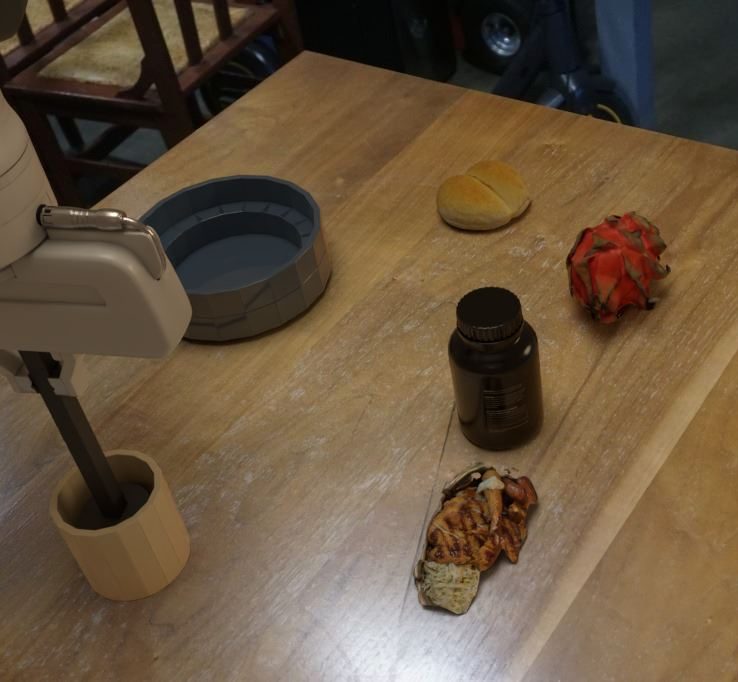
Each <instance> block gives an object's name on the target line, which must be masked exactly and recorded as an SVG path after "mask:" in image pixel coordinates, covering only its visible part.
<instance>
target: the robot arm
mask: <svg viewBox="0 0 738 682" xmlns="http://www.w3.org/2000/svg"><path fill="white" fill-rule="evenodd" d="M28 3H29V0H0V43H2V42H5V41H8V40H9V39H11V38H13V37H14V36H15V35H16V34H17V33H18V31H19V30H20V27H21V24H22V22H23V20H24V16H25V13H26V11H27V8H28V7H27V6H28ZM35 149H36V148H35V147H34V145H33V142H32V140H31V138H30V135H29V133H28V130H27V128H26V126H25V124H24V122H23V120H22V119H21V118H20V116H19V115H18V113H17V112H16V111H15V110H14V108H12V107H11V106H10V104H9V103H8V102H7V100H6V98H5V97H4V95H3V92H2V89H0V374H2V376H5V377H6V379H7V381H8V383H9V384H10V387H11V388H12V390H13V392H14V393H16V394H32V395H33V394H35V395H40V393H39V391H38V389H37V387H36V385H35V383H34V381H33V379H32V377H31V375H30V373H29V372H28V370H27V368H26V366H25V364H24V362H23V360H22V358H21V356H20V354H19V352H18V350H22V351H38V352H50V353H51V355H52V357H53V359H54V360H57V361H58V362H57V364H56V368H55V369H54V370H52V372H51V374H50V375H49V376H48V380H49V383H50V385H51V386H52V387H53V388H55V389H54V392H55V394H56V395H60V396H71V397H77V398H80V397H83V395H84V393H85V391H86V390H87V388H88V386H89V385H90V381H91V375H90V372H89V370H88V368H87V367H86V364H85V361H84V360H85V357H86V355H89V356H103V357H118V358H119V357H120V358H121V357H122V358H135V359H137V358H138V359H149V360H150V359H152V360H161V359H162V360H164V359H166V358H168V357H169V356H170V355H171V353H173V351H174V350H175V349H176V347H177V346H178V345H179V344H180V342H181V341H182V339H183V335H184V333H185V331H186V329H187V327H188V325H189V322H190V320H191V316H192V308H191V304H190V302H189V299H188V297H187V294H186V292H185V290H184V288H183V286H182V284H181V282H180V280H179V278H178V276H177V274H176V272H175V270H174V268H173V266H172V264H171V263H170V261H169V259H168V258H167V256H166V254H165V253H164V250H163V247H162V245H161V242H160V239H159V237H158V235H157V233H156V232H155V230H154V229H153V228H151V227H150V226H146V225H144V224H143V223H141V222H139V221H138V220H139V219H135V218H134V217H133V218H132V217H128V215H127V213H126V212H125V210H121V209H117V208H111V207H110V208H109V207H103V208H98V209H91V208H90V209H88V208H81V207H74V206H63V205H62V206H59V204H58V201H57V198H56V195H55V194H54V193H55V192H54V191H53V189H52V187H51V184H50V182H49V179H48V177H47V174H46V172H45V170H44V168H43V165H42V163H41V161H40V158H39V156H38V154H37V151H36V150H35Z"/></svg>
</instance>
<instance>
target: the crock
mask: <svg viewBox="0 0 738 682" xmlns="http://www.w3.org/2000/svg"><path fill="white" fill-rule="evenodd" d="M103 453H104V455H105V457H106V459H107V461H108V463H109V465H110V467H111V469H112V471H113V473H114V475H115V478H116V480H117V482H118V484H120V483H132V484H136V485H139V486H141V487H143V488H144V489H145V490H147V492H148V493H149V495H150V497H149V499H148V501H147V503H146V504H145V505H144V506H143V507H142V508H141V509H140V510H139V511H138V512H137V513H136V514H135V515H134V516H132V517H130V518H128V519H127V520H125V521H123V522H121V523H119V524H117V525H116V526H112V527H108V528H103V529H99V530H84V529H83V528H82V526H81V521H80V518H81V513H82V510H83V508H84V506H85V504H86V503H87V502H88V500H89V499H90V498H91V497H92V494H91V492H90V490H89V488H88V486H87V484H86V482H85V480H84V478H83V476H82V474H81V472H80V470H79V468H78V467H77V465H76V464H74V465H73V466H72V467H71V468H70V469H69V470H68V471H67V472H65V473H64V475H62V476H61V477H60V479H58V482H57V483H56V485H55V487H54V489H53V491H52V492H51V494H50V498H49V500H50V501H49V510H48V511H49V515H50V517H51V518H52V521H53V522H54V524H55V526H56V527H57V529H58V532H59V533H60V535H61V536H62V538H63V540H64V542H65V544H66V545H67V547H68V549H69V551H70V552H71V555H72V556H73V557H74V559H75V561H76V563H77V565H78V567H79V568H80V570H81V571H82V574H83V575H84V577H85V579H86V580H87V582H88V584H89V586H90V587H91V589H92V591H94V592H96V594H98V595H99V596H101V597H103V598H105V599H108V600H111V601H117V602H129V601H136V600H140V599H144V598H148V597H150V596H153V595H154V594H157V593H158V592H160V591H161V590H163V589H165V588H167V586H169V585H170V584H172V582H174V581H175V579H177V577H178V576H179V575H180V574H181V573H182V571H184V568H185V567H186V565H187V563H188V560H189V557H190V554H191V537H190V534H189V531H188V529H187V527H186V525H185V522H184V520H183V517H182V515H181V513H180V511H179V509H178V506H177V504H176V501H175V499H174V497H173V495H172V493H171V490H170V488H169V486H168V483H167V481H166V478H165V475H163V471H162V470H161V468H160V467H159V465H158V464H157V462H156V460H155V459H154V458H153V457H151V456H149V455H147V454H145V453H143V452H142V451H139V450H135V449H134V450H133V449H121V448H118V449H117V448H116V449H112V450H107V451H103Z"/></svg>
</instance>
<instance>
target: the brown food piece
mask: <svg viewBox="0 0 738 682" xmlns="http://www.w3.org/2000/svg"><path fill="white" fill-rule="evenodd" d="M476 460H477V461H476ZM476 460H472V461H470V462H469V465H468V466H467V467H466V468H465V469H462V470H458V471H456V472H455V474H454V476H453V479H452V480H451V481H447V482H445V484H444V486H443V487H442V490H441V494H440V499H439V502H438V505H437V507H436V509H435V511H434V513H433V514H432V516H431V517H430V520H429V522H428V525H427V527H426V532H425V538H424V544H423V545H422V552H421V555H420V558H419V560H418V561H416V564H415V567H414V568H413V571H412V575H413V581H414V585H415V587H416V589H417V590H418V591H417V598H418V600H419V601H420V603H421V605H423V606H434V607H440V608H443V609H447V610H449V611H450V612H452V613H454V614H456V615H459V614H466V613H467V612H468V610H469V607H470V605H471V604H472V601H473V599H474V598H475V597H476V595H477V591H478V587H479V584H480V575H481V572H482V571H486V570H488V569H489V568H491V567H492V566H493V564H495V561H496V560H497V558H498V556H499V554H500V553H501V551H502V550H504V552H505V556H507V557H508V558H509V559H510V560H511V563H514V564H515V563H517V562H518V560H519V554H520V553H519V551H520V546H522V545H523V543H524V542H525V538H526V537H527V534H528V526H527V522H526V517H527V513H528V510H529V505H531V504H532V505H533V504H534V505H536V504H537V502H538V499H539V495H538V492H537V489H536V486H535V485H534V483H533V482H532V480H531V478H529V477H528V476H526V475H522V476H518V477H514V476H513V475H511V470H512V471H515V472H517V473H518V472H519V469H518V468H515V467H513V466H512V467H511V470H510V469H509V468H504V469H503V471H507V473H505V474H499V473H498V472H497V469H496V468H495V467H494V466H493V465H490V466H486V463H484V462H481V461H479V460H480V458H479V457H477V458H476ZM473 474H479V475H480V476H479V477H477V478H476V477H473V478H472V480H470V481H469V479H470V478H471V477H472V475H473ZM465 482H467V483H465ZM464 483H465V484H464Z"/></svg>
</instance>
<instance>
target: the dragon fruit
mask: <svg viewBox="0 0 738 682" xmlns="http://www.w3.org/2000/svg"><path fill="white" fill-rule="evenodd" d="M636 212H637V211H635V210H634V211H627V212H626V213H624V214H623V215H622V216H621V215H617V214H611V215H609V216H608V215H607V216H605V217H604V219H603V222H602V223H600V224H597V225H596V226H594V227H589V226H587V227H585V228H583V229H581V230H580V231H579V232H578V233H577V235H576V238H575V241H574V243H573V246H572V247H571V249H570V251H569V253H568V254H567V255H566V259H565V269H566V271H567V277H568V278H567V279H568V288H569V294H570V296H571V298H574V297H575V299H576V301H577V302H578V303H579V304H580V306H581V307H582V308H583V309H584V310H585V311H586V312H588V313H589V320H591V321H592V322H594V323H596V319H598V322H599V323H600V324H602V325H608V324H611V323H613V322H618V321H620V319H622V317H623V316H624V314H625V311H622V312H619V310H621V309H622V308H623V307H625V306H628V304H632V305H634V306H635V307H637V310H639V311H649V312H650V311H653V310H654V309H656V307H657V306H658V305H659V304H660V303H661V301H662V298H661V297H657V296H656V297H651V291H650V280H655V281H661V280H665V279H666V278H667V277H668V276H670V274H671V272H672V268H671V266H670V265H669V264H665V268H664V267H663V266H662V265H661V263H660V261H661V256H660V255H662V254H663V253H664V252H665V251H666V250H667V247H668V244H666V241H665V240H664V239H663V238H662V237H661V236H660V233H661V232H660V229H659V228H658V227H657V226H656V225H654V224H653V223H652V222H651V221H648V218H646V217H645V216H643V215H638V214H637V213H636Z"/></svg>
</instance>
